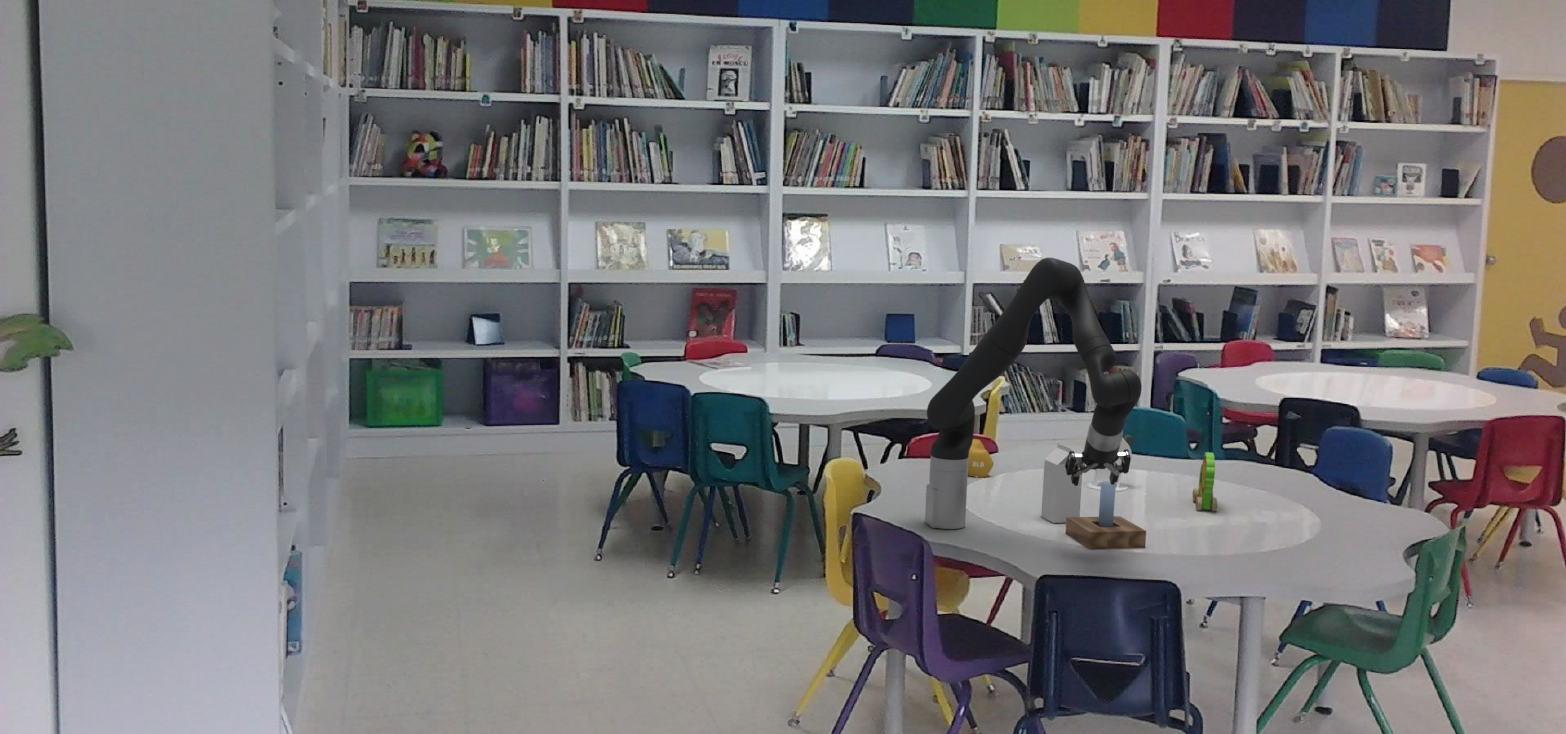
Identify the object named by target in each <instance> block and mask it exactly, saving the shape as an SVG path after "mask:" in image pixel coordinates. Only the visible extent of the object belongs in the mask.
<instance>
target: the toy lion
mask: <svg viewBox="0 0 1566 734" xmlns="http://www.w3.org/2000/svg"><path fill="white" fill-rule="evenodd" d="M1215 469H1216V460H1215V454H1214V452H1209V451H1207V452H1206V451H1205V452H1204V454H1203V458H1202V464H1201V466H1200V470H1199V480H1198V488H1193V490H1192V501H1193V502H1194V503H1195V510H1196V511H1202V509H1203V510H1210V512H1217V509H1218V499H1217V497H1214V486H1215V485H1214V484H1215V473H1216V470H1215Z"/></svg>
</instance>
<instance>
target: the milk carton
mask: <svg viewBox="0 0 1566 734" xmlns="http://www.w3.org/2000/svg"><path fill="white" fill-rule="evenodd" d="M1070 451H1073V449H1072V447H1069V446H1067V445H1064V444H1061V443H1059V442H1058V443H1057V447H1056V448H1055V449H1054V450H1053V451H1052V452H1051V453H1049V454H1048V455H1047V456H1046V457H1045V458H1044V464H1043V465H1044V466H1043V478H1042V479H1043V480H1042V496H1041V499H1042V500H1041V501H1042V502H1041V515H1040V517H1042V518H1044V519H1045V520H1047V521H1049V522H1051V523H1053V524H1066V518H1067V517H1081V516H1080V515H1081V499H1082V482H1083V473H1082V474H1081V475H1079V476H1080V478H1079V482H1078V486H1074V484H1072V481H1071V475H1072V474H1071V475H1067V473H1066V468H1065V464H1066V461H1067V458H1068V454H1069V452H1070ZM1074 453H1075V454H1077V453H1076V452H1075V451H1074ZM1078 461H1079V460H1078ZM1077 463H1078V462H1077ZM1079 469H1080V468H1078V470H1079Z"/></svg>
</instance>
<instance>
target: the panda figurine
mask: <svg viewBox="0 0 1566 734" xmlns="http://www.w3.org/2000/svg"><path fill="white" fill-rule="evenodd" d="M1134 444H1135V440H1134V437H1132V436H1131V435H1130V434H1125V435H1124V437H1122V441H1121V444H1120V448H1119V451H1118V453H1121V452H1123V451H1124V450H1125V449H1128V450H1129V453H1130V457H1131V460H1132V457H1133V455H1132V449H1131V446H1134ZM1131 460H1130V462H1131ZM1121 462H1122V461H1121V459H1120V458H1119V459H1118V460H1117V461H1116V463H1117V464H1118V465H1121ZM1093 470H1094V472H1095V473H1094V478H1093V481H1090V482H1087V483H1086V487H1087V488H1089V489H1091V490H1095V491H1101V482H1105V481H1106V482H1110V473H1111V471H1110V470H1109V469H1108V468H1105V469H1093ZM1121 477H1122V473H1120V475H1119V477H1118V481H1117V482H1115V483H1116V487H1115V493H1117V492H1125V491H1128V490H1129V486H1127V485H1125V484H1123V483H1121Z"/></svg>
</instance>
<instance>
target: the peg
mask: <svg viewBox="0 0 1566 734" xmlns="http://www.w3.org/2000/svg"><path fill="white" fill-rule="evenodd" d="M1115 487H1116V483H1115V484H1114V485H1111V483H1110V482H1106V481H1105V482H1101V491H1100V490H1099V491H1100V495H1099V508H1098V517H1099V522H1098V526H1099V527H1113V518H1114V516H1115V515H1114V514H1115V500H1116V492H1115Z"/></svg>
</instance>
